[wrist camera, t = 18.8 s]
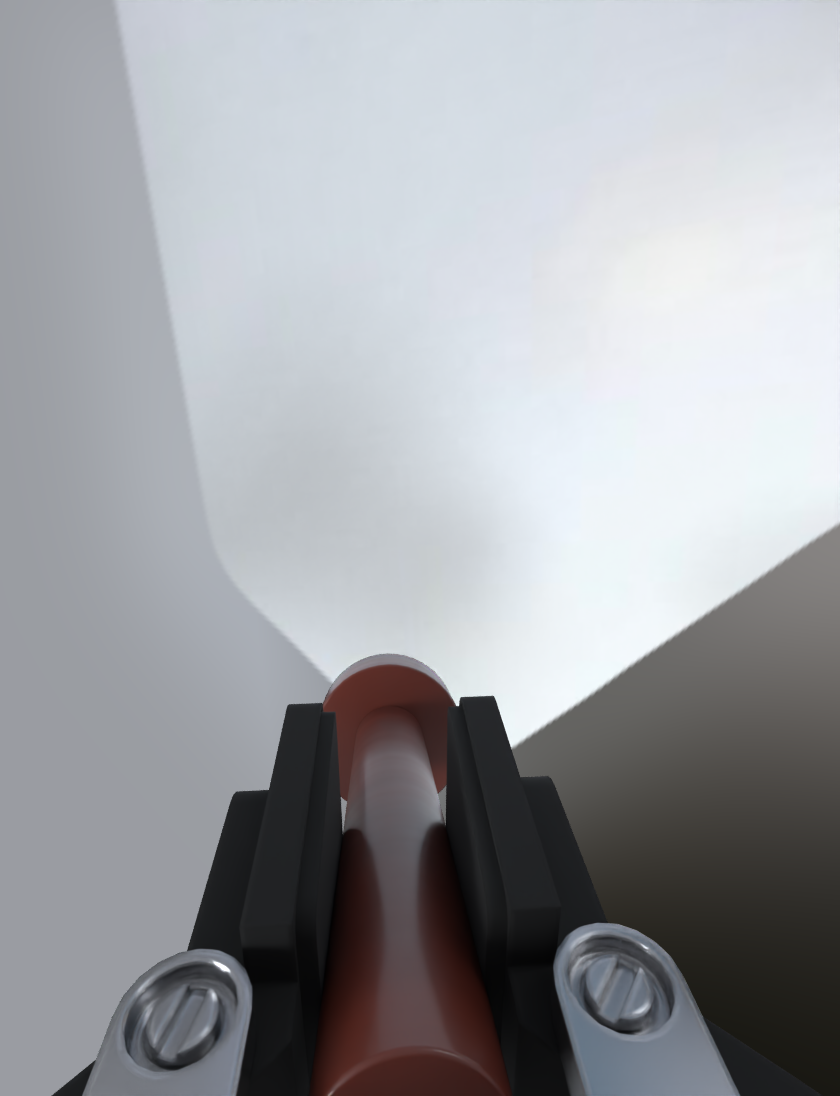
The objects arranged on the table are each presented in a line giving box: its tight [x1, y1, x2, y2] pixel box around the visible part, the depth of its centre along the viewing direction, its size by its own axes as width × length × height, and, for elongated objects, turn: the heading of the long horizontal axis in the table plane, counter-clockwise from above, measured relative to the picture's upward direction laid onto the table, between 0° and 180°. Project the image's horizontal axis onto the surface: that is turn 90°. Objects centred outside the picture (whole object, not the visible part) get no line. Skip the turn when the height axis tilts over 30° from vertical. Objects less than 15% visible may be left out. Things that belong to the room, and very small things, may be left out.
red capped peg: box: [309, 654, 513, 1096], centre depth 12 cm, size 4×4×14 cm
